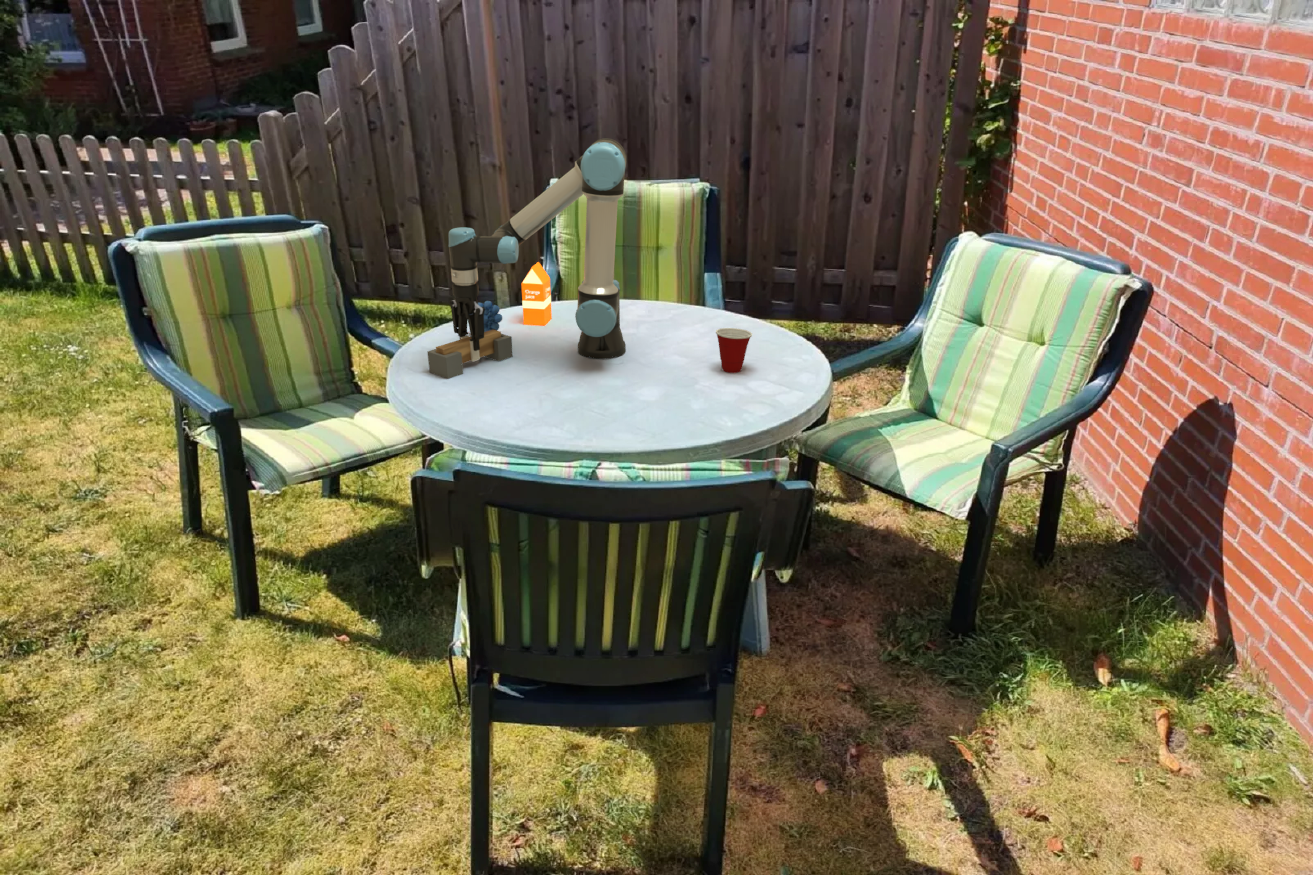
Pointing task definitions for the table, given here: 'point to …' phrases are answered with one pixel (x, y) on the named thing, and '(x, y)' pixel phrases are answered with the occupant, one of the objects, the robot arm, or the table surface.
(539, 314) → the orange juice
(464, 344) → the slat
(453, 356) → the end caps
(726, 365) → the plastic cup
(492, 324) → the grapes
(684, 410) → the table surface
